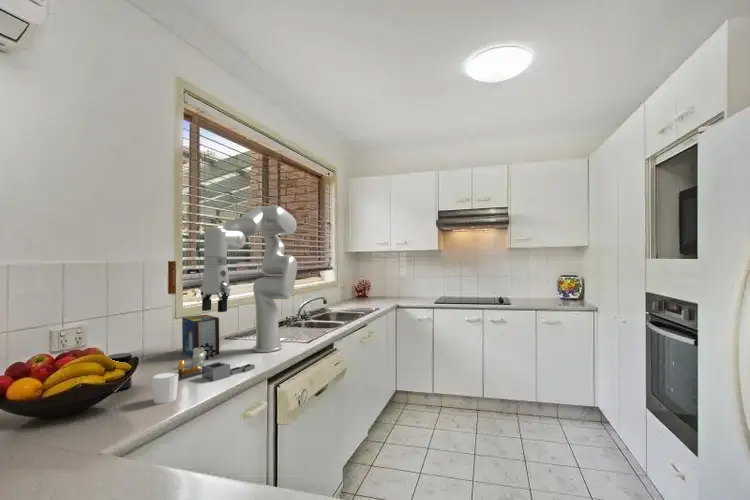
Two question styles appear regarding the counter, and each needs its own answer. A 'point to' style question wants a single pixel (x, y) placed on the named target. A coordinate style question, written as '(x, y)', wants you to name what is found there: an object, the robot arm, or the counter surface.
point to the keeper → (187, 371)
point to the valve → (202, 354)
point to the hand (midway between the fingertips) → (214, 311)
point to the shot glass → (164, 387)
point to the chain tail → (241, 369)
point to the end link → (216, 371)
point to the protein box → (200, 333)
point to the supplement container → (125, 358)
